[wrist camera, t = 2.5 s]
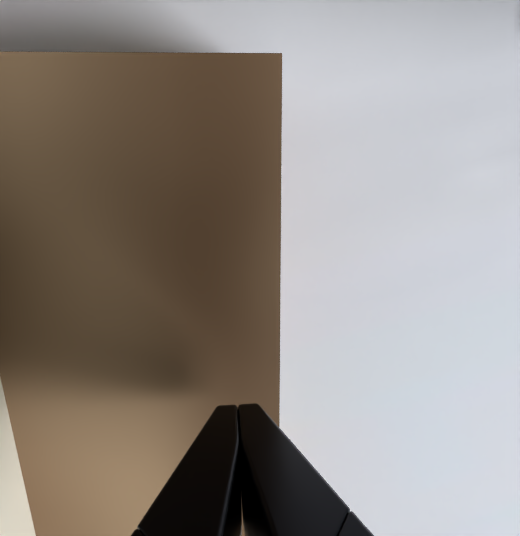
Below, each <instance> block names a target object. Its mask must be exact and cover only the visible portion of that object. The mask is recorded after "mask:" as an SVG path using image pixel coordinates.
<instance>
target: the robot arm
mask: <svg viewBox="0 0 520 536" xmlns="http://www.w3.org/2000/svg"><path fill="white" fill-rule="evenodd" d="M241 499H242V501H241ZM242 516H243V526H244V534H245V536H374V535H373V534H372V533H371V532H370V531H369V530H368V529H367V528H366V527H365V525H364V524H363V523H362V522H361V521H360V520H359V519H358V517H357V516H356V515H355V514H354V513H353V512H352V511H350V509H349V507H348V506H347V505H346V504H345V503H344V501H343V500H342V499H341V498H340V497H339V496H338V495H337V493H336V492H335V491H334V490H333V489H332V488H331V487H330V485H329V484H328V483H327V482H326V481H325V480H324V479H323V477H322V476H321V475H320V474H319V473H318V472H317V470H316V469H315V468H314V467H313V466H312V465H311V464H310V462H309V461H308V460H307V459H306V458H305V457H304V456H303V454H302V453H301V452H300V451H299V450H298V449H297V447H296V446H295V445H294V444H293V443H292V442H291V441H290V439H289V438H288V437H287V436H286V435H285V434H284V433H283V431H282V430H281V429H280V428H279V427H278V426H277V425H276V423H275V422H274V421H273V420H272V419H271V418H270V416H269V415H268V414H267V413H266V412H265V411H264V410H263V408H262V407H261V406H260V405H259V404H257V403H250V404H240V405H239V406H238V407H237V406H236V405H219V406H217V407H216V408H215V410H214V411H213V413H212V414H211V416H210V417H209V419H208V420H207V422H206V423H205V425H204V426H203V428H202V429H201V431H200V432H199V434H198V435H197V437H196V438H195V440H194V441H193V443H192V444H191V446H190V447H189V449H188V450H187V452H186V453H185V455H184V456H183V458H182V459H181V461H180V463H179V464H178V466H177V467H176V469H175V470H174V472H173V473H172V475H171V476H170V478H169V479H168V481H167V482H166V484H165V485H164V487H163V488H162V490H161V491H160V493H159V494H158V496H157V497H156V499H155V500H154V502H153V503H152V505H151V506H150V508H149V509H148V511H147V512H146V514H145V515H144V517H143V518H142V520H141V521H140V523H139V524H138V526H137V529H135V530H134V531H133V533H132V534H131V536H241V535H242Z"/></svg>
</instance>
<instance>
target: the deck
mask: <svg viewBox="0 0 520 536" xmlns="http://www.w3.org/2000/svg"><path fill="white" fill-rule="evenodd" d="M281 119H282V53H152V52H0V378H1V383H2V387H3V392H4V396H5V400H6V405H7V409H8V414H9V418H10V423H11V427H12V432H13V436H14V441H15V445H16V450H17V454H18V459H19V463H20V467H21V472H22V476H23V481H24V485H25V490H26V494H27V499H28V503H29V508H30V512H31V517H32V521H33V525H34V530H35V534H36V536H131V534H132V533H133V531H134V530H135V529H137V526H138V524H139V523H140V521H141V520H142V518H143V517H144V515H145V514H146V512H147V511H148V509H149V508H150V506H151V505H152V503H153V502H154V500H155V499H156V497H157V496H158V494H159V493H160V491H161V490H162V488H163V487H164V485H165V484H166V482H167V481H168V479H169V478H170V476H171V475H172V473H173V472H174V470H175V469H176V467H177V466H178V464H179V463H180V461H181V459H182V458H183V456H184V455H185V453H186V452H187V450H188V449H189V447H190V446H191V444H192V443H193V441H194V440H195V438H196V437H197V435H198V434H199V432H200V431H201V429H202V428H203V426H204V425H205V423H206V422H207V420H208V419H209V417H210V416H211V414H212V413H213V411H214V410H215V408H216V407H217V406H219V405H236V406H237V407H238V406H239V405H240V404H250V403H257V404H259V405H260V406H261V407H262V408H263V410H264V411H265V412H266V413H267V414H268V415H269V416H270V418H271V419H272V420H273V421H274V422H275V423H276V425H277V426H278V427H279V386H280V253H281ZM241 501H242V499H241ZM241 536H245V534H244V526H243V516H242V535H241Z"/></svg>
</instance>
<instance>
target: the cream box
mask: <svg viewBox="0 0 520 536" xmlns="http://www.w3.org/2000/svg"><path fill="white" fill-rule="evenodd" d="M0 536H36V534H35V530H34V525H33V521H32V517H31V512H30V508H29V503H28V499H27V494H26V490H25V485H24V481H23V476H22V472H21V467H20V463H19V459H18V454H17V450H16V445H15V441H14V436H13V432H12V427H11V423H10V418H9V414H8V409H7V405H6V400H5V396H4V392H3V387H2V383H1V378H0Z"/></svg>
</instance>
